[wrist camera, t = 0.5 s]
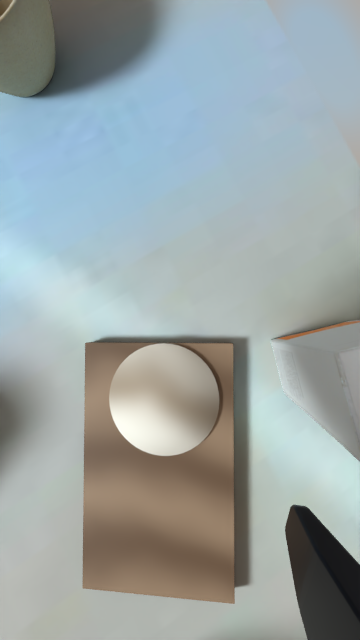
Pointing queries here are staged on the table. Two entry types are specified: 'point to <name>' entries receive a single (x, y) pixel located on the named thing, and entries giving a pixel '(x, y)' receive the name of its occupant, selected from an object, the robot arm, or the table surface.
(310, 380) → the skincare box
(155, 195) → the table surface
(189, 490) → the walnut board
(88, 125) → the table surface
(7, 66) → the flower pot
